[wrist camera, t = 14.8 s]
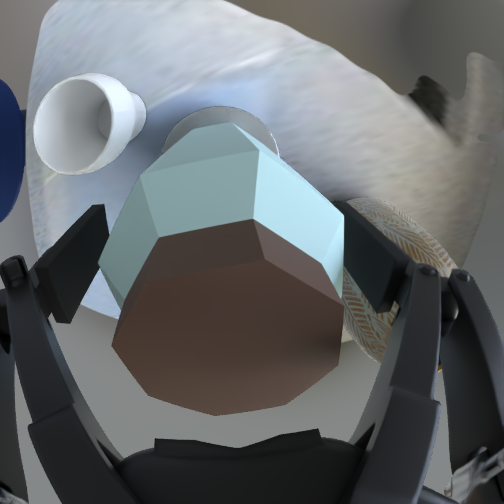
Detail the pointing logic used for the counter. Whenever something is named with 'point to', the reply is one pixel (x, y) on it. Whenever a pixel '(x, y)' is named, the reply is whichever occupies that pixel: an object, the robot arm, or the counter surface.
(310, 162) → the counter surface
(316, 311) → the water bottle
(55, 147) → the cup
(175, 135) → the navy round container
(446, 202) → the counter surface
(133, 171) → the counter surface
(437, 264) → the vase
